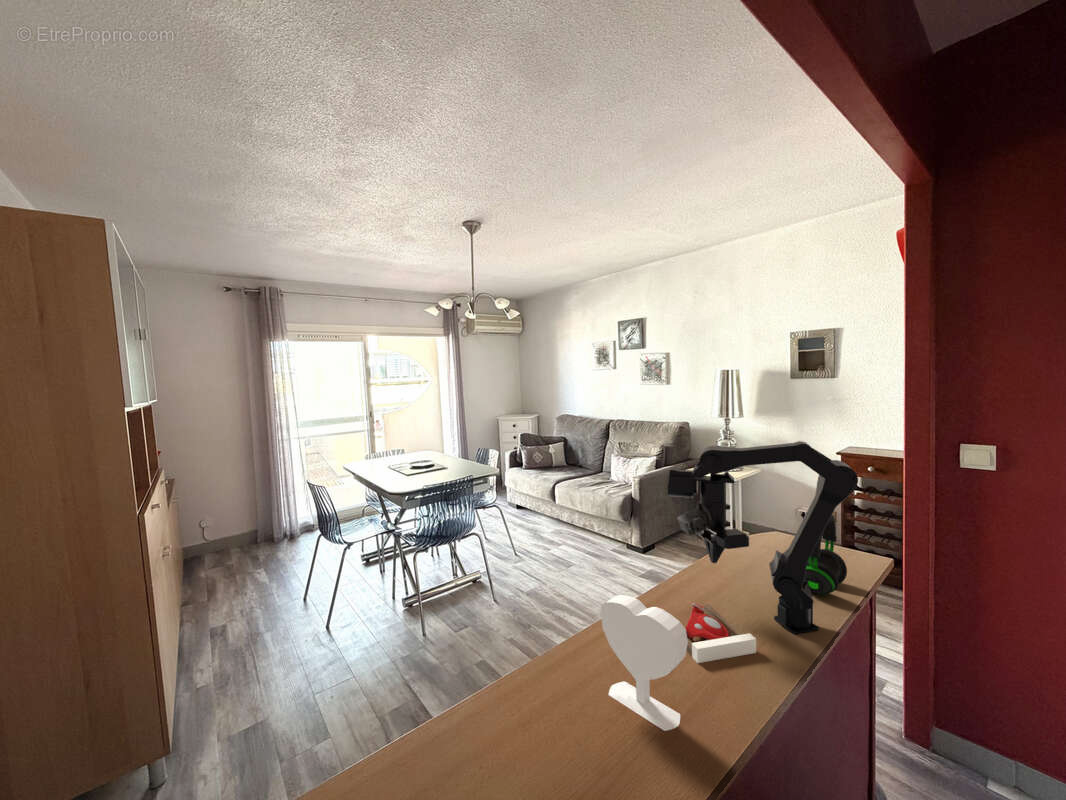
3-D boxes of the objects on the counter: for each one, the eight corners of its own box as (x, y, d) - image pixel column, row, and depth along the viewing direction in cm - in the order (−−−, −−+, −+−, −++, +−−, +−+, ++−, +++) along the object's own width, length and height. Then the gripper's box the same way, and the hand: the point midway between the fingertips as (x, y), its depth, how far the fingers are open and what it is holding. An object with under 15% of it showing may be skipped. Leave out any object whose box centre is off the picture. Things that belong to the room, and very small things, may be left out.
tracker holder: (740, 633, 97) (708, 636, 93) (732, 650, 98) (701, 654, 93) (700, 596, 108) (669, 597, 103) (693, 612, 108) (663, 614, 104)
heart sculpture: (691, 720, 75) (689, 617, 74) (675, 737, 71) (674, 630, 70) (616, 676, 86) (614, 586, 85) (599, 689, 83) (597, 596, 82)
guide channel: (708, 610, 108) (708, 598, 108) (756, 652, 92) (756, 638, 92) (657, 617, 106) (657, 605, 106) (697, 663, 89) (697, 648, 89)
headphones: (850, 584, 118) (851, 511, 117) (833, 606, 108) (833, 526, 107) (810, 573, 125) (811, 503, 124) (790, 592, 115) (790, 517, 114)
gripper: (663, 492, 114) (664, 551, 115) (705, 514, 96) (705, 584, 97) (702, 488, 116) (703, 546, 117) (750, 509, 98) (751, 578, 99)
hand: (713, 562), depth 107 cm, fingers closed
